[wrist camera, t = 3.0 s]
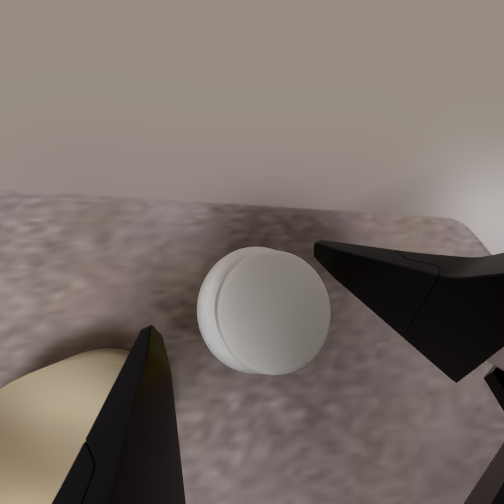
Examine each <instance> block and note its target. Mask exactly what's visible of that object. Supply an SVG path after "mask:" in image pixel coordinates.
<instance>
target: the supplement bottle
mask: <svg viewBox="0 0 504 504" xmlns="http://www.w3.org/2000/svg"><path fill="white" fill-rule="evenodd" d="M197 320H198V325H199V329H200V332H201V335H202V337H203V340H204V342H205V343H206V345H207V347H208V348H209V350H210V351H211V352H212V353H213V354H214V356H215V357H216V358H218V359H219V360H220V361H221V362H222V363H224V364H225V365H227V366H228V367H230V368H232V369H234V370H237V371H240V372H244V373H248V374H267V375H284V374H289V373H292V372H294V371H297V370H299V369H301V368H303V367H304V366H306V365H307V364H308V363H310V362H311V361H312V360H313V359H314V358H315V357H316V355H317V354H318V353H319V351H320V350H321V349H322V347H323V345H324V343H325V340H326V338H327V336H328V332H329V328H330V322H331V307H330V301H329V296H328V293H327V290H326V288H325V285H324V283H323V281H322V280H321V278H320V276H319V275H318V274H317V272H316V271H315V270H314V269H313V268H312V267H311V266H310V265H309V264H308V263H307V262H305V261H304V260H303V259H301V258H299V257H297V256H295V255H293V254H291V253H288V252H284V251H277V250H274V249H270V248H266V247H246V248H242V249H239V250H236V251H233V252H231V253H229V254H228V255H226V256H224V257H223V258H222V259H220V260H219V261H218V262H217V263H216V264H215V265H214V266H213V267H212V269H211V270H210V271H209V273H208V274H207V276H206V277H205V279H204V281H203V283H202V286H201V289H200V292H199V295H198V301H197Z"/></svg>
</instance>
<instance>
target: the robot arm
mask: <svg viewBox="0 0 504 504" xmlns="http://www.w3.org/2000/svg"><path fill="white" fill-rule="evenodd" d="M314 257H315V258H316V259H317V260H318V261H319V262H320V264H321V265H322V266H323V267H324V268H325V269H326V270H327V271H328V272H329V273H330V274H331V275H332V276H333V277H334V278H335V279H336V280H337V281H339V282H340V283H341V284H342V285H343V286H344V287H346V288H347V289H348V290H349V291H350V292H351V293H352V294H354V295H355V296H356V297H357V298H358V299H359V300H361V301H362V302H363V303H364V304H365V305H366V306H367V307H369V308H370V309H371V310H372V311H373V312H374V313H376V314H377V315H378V316H379V317H380V318H381V319H383V320H384V321H385V322H386V323H387V324H388V325H389V326H391V327H392V328H393V329H394V330H395V331H396V332H398V333H399V334H400V335H401V336H402V337H403V338H404V339H405V340H407V341H408V342H409V343H410V344H411V345H412V346H414V347H415V348H416V349H417V350H418V351H419V352H420V353H422V354H423V355H424V356H425V357H426V358H427V359H429V360H430V361H431V362H432V363H433V364H434V365H435V366H437V367H438V368H439V369H440V370H441V371H442V372H444V373H445V374H446V375H447V376H448V377H449V378H451V379H452V380H453V381H455V382H456V383H457V382H458V381H460V380H461V379H462V378H464V377H465V376H466V375H468V374H469V373H470V372H472V371H473V370H474V369H476V368H477V367H478V366H479V365H481V364H482V363H483V362H485V361H486V360H487V361H488V362H490V363H491V364H493V365H494V366H493V367H492V368H491V369H490V371H489V372H488V373H487V374H486V376H485V377H484V379H485V381H486V382H487V384H488V386H489V387H490V389H491V391H492V392H493V394H494V396H495V397H496V399H497V401H498V402H499V404H500V406H501V407H502V409H503V411H504V253H501V254H496V255H491V256H485V257H457V256H446V255H434V254H424V253H414V252H406V251H398V250H391V249H383V248H376V247H369V246H361V245H354V244H346V243H339V242H331V241H324V240H320V241H318V242H316V243H315V244H314ZM52 504H186V503H185V494H184V485H183V476H182V467H181V458H180V449H179V440H178V431H177V422H176V413H175V404H174V395H173V386H172V377H171V371H170V366H169V362H168V358H167V354H166V350H165V345H164V341H163V338H162V336H161V334H160V333H159V332H158V331H157V330H156V329H155V327H154V326H152V325H150V326H148V327H146V328H144V329H142V330H141V331H140V333H139V335H138V337H137V339H136V341H135V343H134V345H133V347H132V349H131V351H130V353H129V355H128V357H127V358H126V360H125V362H124V364H123V366H122V368H121V370H120V372H119V374H118V376H117V378H116V380H115V382H114V384H113V386H112V388H111V390H110V392H109V394H108V396H107V398H106V400H105V402H104V404H103V406H102V408H101V410H100V412H99V414H98V416H97V418H96V420H95V422H94V423H93V425H92V427H91V429H90V431H89V433H88V435H87V437H86V442H84V443H83V445H82V447H81V449H80V451H79V453H78V455H77V457H76V459H75V461H74V463H73V464H72V466H71V468H70V470H69V472H68V474H67V476H66V478H65V480H64V482H63V483H62V485H61V487H60V489H59V491H58V493H57V495H56V496H55V498H54V500H53V502H52ZM464 504H504V443H503V445H502V446H501V448H500V449H499V451H498V452H497V454H496V455H495V457H494V458H493V460H492V461H491V463H490V464H489V466H488V467H487V469H486V471H485V472H484V474H483V475H482V477H481V478H480V480H479V481H478V483H477V484H476V486H475V487H474V489H473V490H472V492H471V493H470V495H469V496H468V498H467V499H466V501H465V503H464Z"/></svg>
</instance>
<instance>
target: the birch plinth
mask: <svg viewBox="0 0 504 504" xmlns="http://www.w3.org/2000/svg"><path fill="white" fill-rule="evenodd" d="M129 353H130V351H128V350H124V349H117V348H101V349H94V350H90V351H86V352H82V353H79V354H76V355H74V356H71V357H69V358H66V359H64V360H61V361H59V362H56V363H54V364H51V365H49V366H46V367H44V368H41V369H39V370H36V371H34V372H32V373H29V374H27V375H25V376H23V377H21V378H19V379H17V380H15V381H13V382H11V383H9V384H7V385H6V386H4V387H3V388H1V389H0V504H52V502H53V500H54V498H55V496H56V495H57V493H58V491H59V489H60V487H61V485H62V483H63V482H64V480H65V478H66V476H67V474H68V472H69V470H70V468H71V466H72V464H73V463H74V461H75V459H76V457H77V455H78V453H79V451H80V449H81V447H82V445H83V443H84V442H86V437H87V435H88V433H89V431H90V429H91V427H92V425H93V423H94V422H95V420H96V418H97V416H98V414H99V412H100V410H101V408H102V406H103V404H104V402H105V400H106V398H107V396H108V394H109V392H110V390H111V388H112V386H113V384H114V382H115V380H116V378H117V376H118V374H119V372H120V370H121V368H122V366H123V364H124V362H125V360H126V358H127V357H128V355H129Z"/></svg>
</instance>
